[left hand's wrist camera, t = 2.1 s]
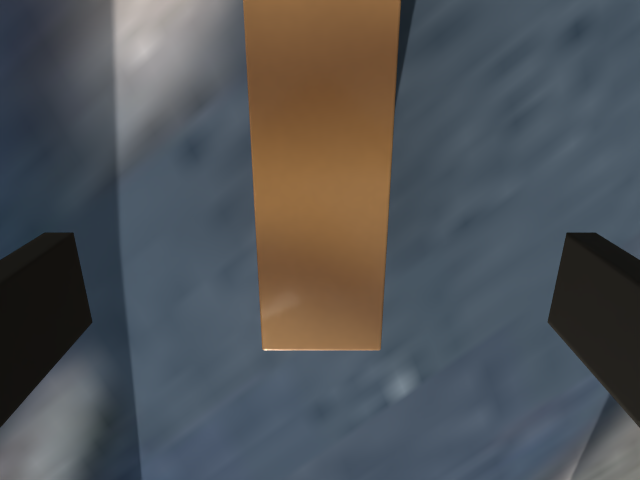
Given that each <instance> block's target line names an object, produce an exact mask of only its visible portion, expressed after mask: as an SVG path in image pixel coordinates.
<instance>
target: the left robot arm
mask: <svg viewBox="0 0 640 480" xmlns="http://www.w3.org/2000/svg"><path fill="white" fill-rule="evenodd" d="M91 323H92V318H91V313H90V309H89V304H88V299H87V295H86V290H85V285H84V280H83V276H82V271H81V266H80V262H79V257H78V252H77V247H76V243H75V238H74V233H43V234H42V235H40V236H38V237H37V238H35V239H34V240H32V241H30V242H29V243H27V244H25V245H24V246H22V247H21V248H19V249H17V250H16V251H14V252H13V253H11V254H9V255H8V256H6V257H5V258H3V259H1V260H0V427H1V426H2V425H3V424H4V423H5V422H6V420H7V419H8V418H9V417H10V416H11V415H12V414H13V412H14V411H15V410H16V409H17V408H18V407H19V406H20V404H21V403H22V402H23V401H24V400H25V399H26V398H27V396H28V395H29V394H30V393H31V392H32V391H33V390H34V388H35V387H36V386H37V385H38V384H39V383H40V382H41V380H42V379H43V378H44V377H45V376H46V375H47V374H48V372H49V371H50V370H51V369H52V368H53V367H54V366H55V364H56V363H57V362H58V361H59V360H60V359H61V358H62V356H63V355H64V354H65V353H66V352H67V351H68V350H69V348H70V347H71V346H72V345H73V344H74V343H75V342H76V340H77V339H78V338H79V337H80V336H81V335H82V334H83V332H84V331H85V330H86V329H87V328H88V327H89V326H90V324H91ZM548 323H549V324H550V326H551V327H552V328H553V329H554V330H555V331H556V332H557V334H558V335H559V336H560V337H561V338H562V339H563V340H564V342H565V343H566V344H567V345H568V346H569V347H570V348H571V350H572V351H573V352H574V353H575V354H576V355H577V356H578V358H579V359H580V360H581V361H582V362H583V363H584V364H585V366H586V367H587V368H588V369H589V370H590V371H591V372H592V374H593V375H594V376H595V377H596V378H597V379H598V380H599V382H600V383H601V384H602V385H603V386H604V387H605V388H606V390H607V391H608V392H609V393H610V394H611V395H612V396H613V398H614V399H615V400H616V401H617V402H618V403H619V404H620V406H621V407H622V408H623V409H624V410H625V411H626V412H627V414H628V415H629V416H630V417H631V418H632V419H633V420H634V422H635V423H636V424H637V425H638V426H639V427H640V260H639V259H637V258H635V257H634V256H632V255H631V254H629V253H627V252H626V251H624V250H623V249H621V248H619V247H618V246H616V245H615V244H613V243H611V242H610V241H608V240H606V239H605V238H603V237H602V236H600V235H598V234H597V233H566V238H565V243H564V247H563V252H562V257H561V262H560V266H559V271H558V276H557V280H556V285H555V290H554V295H553V299H552V304H551V309H550V313H549V318H548Z"/></svg>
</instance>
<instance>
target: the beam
mask: <svg viewBox="0 0 640 480" xmlns="http://www.w3.org/2000/svg"><path fill="white" fill-rule="evenodd" d="M243 7H244V26H245V44H246V62H247V80H248V98H249V116H250V134H251V152H252V170H253V189H254V207H255V225H256V243H257V261H258V279H259V297H260V315H261V333H262V349H263V350H380V349H381V336H382V319H383V301H384V284H385V267H386V250H387V233H388V215H389V198H390V181H391V164H392V147H393V129H394V112H395V95H396V78H397V61H398V43H399V26H400V9H401V0H243Z"/></svg>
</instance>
